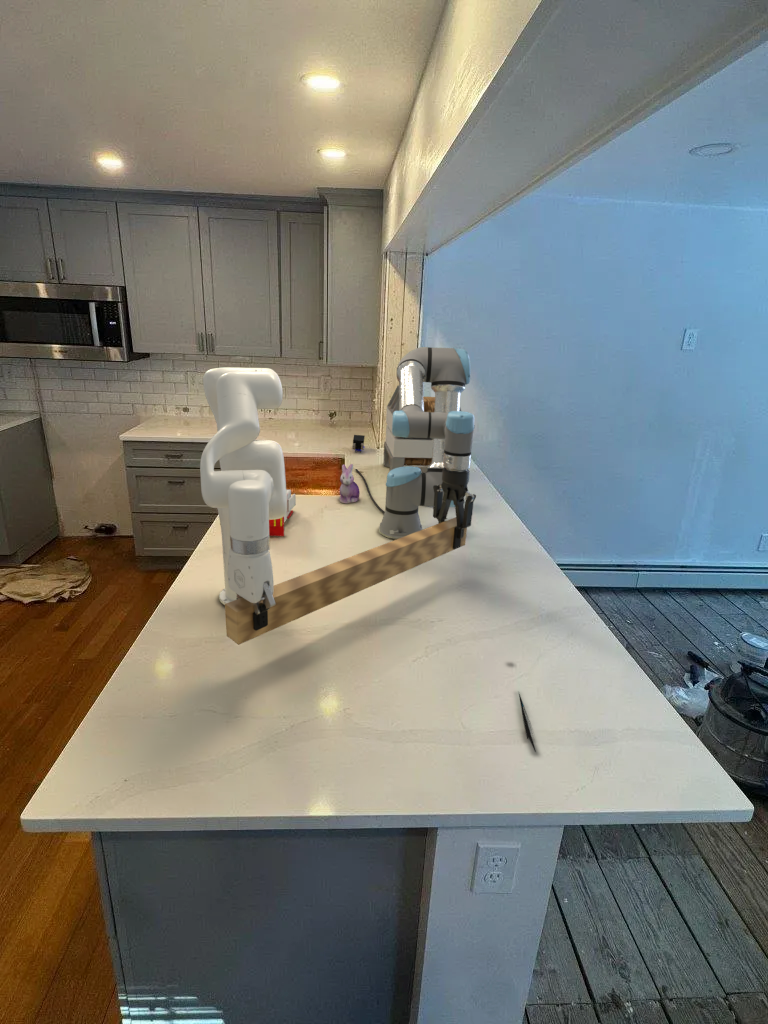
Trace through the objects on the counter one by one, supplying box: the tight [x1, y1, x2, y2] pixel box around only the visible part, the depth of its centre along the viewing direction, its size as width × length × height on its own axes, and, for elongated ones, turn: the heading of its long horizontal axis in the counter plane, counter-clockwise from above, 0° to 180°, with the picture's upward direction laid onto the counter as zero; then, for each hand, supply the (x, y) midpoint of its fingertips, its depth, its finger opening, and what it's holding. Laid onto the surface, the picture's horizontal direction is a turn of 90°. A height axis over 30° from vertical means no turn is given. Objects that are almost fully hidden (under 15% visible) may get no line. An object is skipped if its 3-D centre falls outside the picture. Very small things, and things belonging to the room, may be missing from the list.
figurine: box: [338, 463, 361, 504], centre depth 229 cm, size 9×10×15 cm
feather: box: [517, 691, 537, 753], centre depth 115 cm, size 2×28×2 cm
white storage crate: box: [383, 384, 462, 472], centre depth 268 cm, size 34×33×41 cm
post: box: [224, 516, 468, 645], centre depth 141 cm, size 78×4×8 cm, turn 137°
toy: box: [269, 489, 297, 537], centre depth 204 cm, size 12×13×30 cm
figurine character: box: [351, 434, 365, 454], centre depth 311 cm, size 7×8×15 cm
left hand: (253, 621), depth 118 cm, fingers closed on post, 4 cm apart
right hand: (449, 544), depth 166 cm, fingers closed on post, 4 cm apart
